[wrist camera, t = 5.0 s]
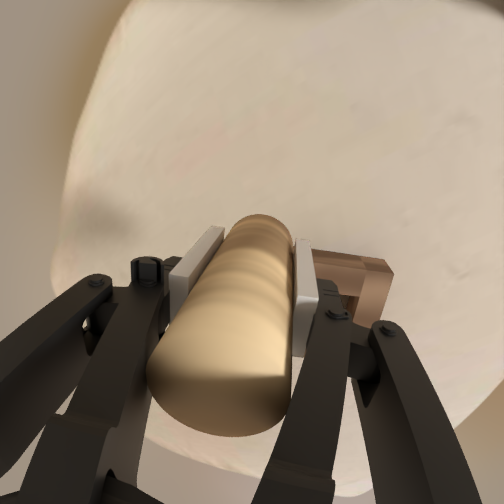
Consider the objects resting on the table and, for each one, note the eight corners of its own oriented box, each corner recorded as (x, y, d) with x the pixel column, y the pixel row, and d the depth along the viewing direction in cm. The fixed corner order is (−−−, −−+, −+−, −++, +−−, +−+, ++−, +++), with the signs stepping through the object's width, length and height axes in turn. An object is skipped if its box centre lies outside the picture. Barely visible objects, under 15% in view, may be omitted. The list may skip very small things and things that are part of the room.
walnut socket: (282, 244, 35) (281, 257, 31) (384, 259, 34) (393, 273, 30) (268, 333, 39) (266, 352, 35) (358, 343, 38) (363, 362, 34)
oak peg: (230, 209, 18) (139, 319, 7) (297, 219, 18) (306, 350, 7) (224, 271, 20) (152, 419, 8) (287, 281, 19) (276, 445, 8)
